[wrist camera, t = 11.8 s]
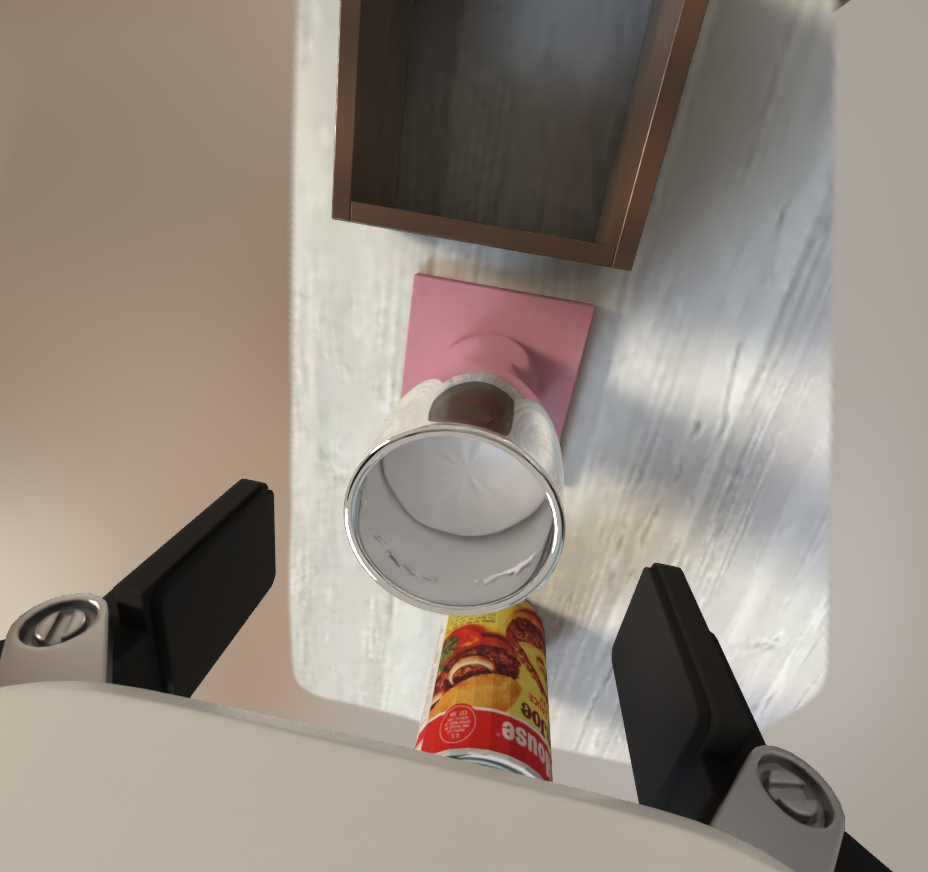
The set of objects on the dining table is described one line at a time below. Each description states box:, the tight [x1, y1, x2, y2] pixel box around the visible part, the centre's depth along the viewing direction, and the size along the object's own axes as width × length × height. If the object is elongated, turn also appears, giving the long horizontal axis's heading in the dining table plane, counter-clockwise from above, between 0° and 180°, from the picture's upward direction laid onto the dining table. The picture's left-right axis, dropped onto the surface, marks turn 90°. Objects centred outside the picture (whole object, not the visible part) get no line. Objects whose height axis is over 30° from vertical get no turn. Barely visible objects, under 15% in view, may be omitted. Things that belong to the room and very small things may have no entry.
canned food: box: [415, 600, 553, 782], centre depth 30 cm, size 8×8×12 cm
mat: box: [401, 273, 595, 443], centre depth 28 cm, size 11×10×1 cm
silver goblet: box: [344, 334, 566, 616], centre depth 20 cm, size 7×7×15 cm
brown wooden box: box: [332, 0, 709, 271], centre depth 20 cm, size 12×12×7 cm
